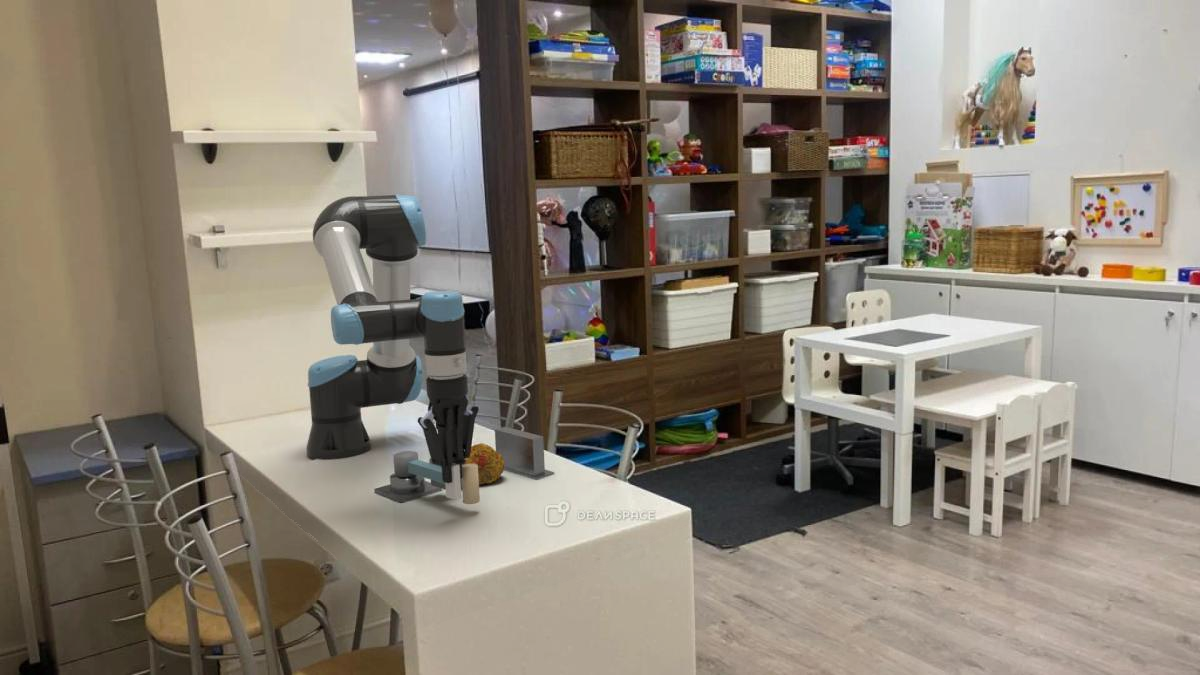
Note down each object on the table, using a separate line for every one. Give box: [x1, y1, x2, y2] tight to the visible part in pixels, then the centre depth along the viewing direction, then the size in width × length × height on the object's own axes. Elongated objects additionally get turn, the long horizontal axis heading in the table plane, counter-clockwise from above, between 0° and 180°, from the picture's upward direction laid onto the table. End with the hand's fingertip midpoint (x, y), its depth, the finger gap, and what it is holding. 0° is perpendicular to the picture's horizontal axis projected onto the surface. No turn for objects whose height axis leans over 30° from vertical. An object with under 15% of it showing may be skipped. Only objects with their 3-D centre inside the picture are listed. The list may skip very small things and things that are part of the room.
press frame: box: [373, 426, 555, 504], centre depth 188 cm, size 21×32×9 cm, turn 135°
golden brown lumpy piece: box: [462, 442, 505, 486], centre depth 189 cm, size 11×8×10 cm
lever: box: [392, 450, 481, 505], centre depth 178 cm, size 25×6×7 cm, turn 47°
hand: (453, 497), depth 167 cm, fingers closed
